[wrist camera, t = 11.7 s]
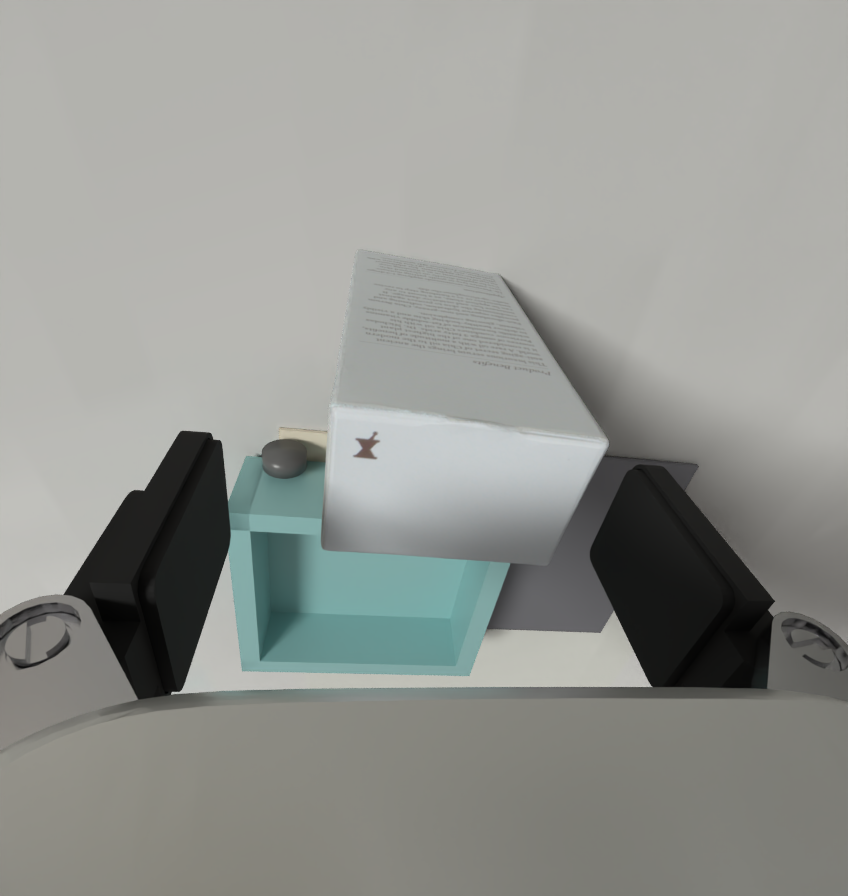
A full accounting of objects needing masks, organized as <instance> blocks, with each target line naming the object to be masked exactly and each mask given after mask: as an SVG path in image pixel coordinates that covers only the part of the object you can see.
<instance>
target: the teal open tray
mask: <svg viewBox="0 0 848 896" xmlns="http://www.w3.org/2000/svg"><path fill="white" fill-rule="evenodd" d="M325 464H326V462H315V461H307V449H306V447H305V446H304V445H303V444H302V443H300V442H298V441H295V440H290V439H280V440H275V441H272V442H270V443H268V444H267V445H265V446H264V448H263V449H262V457H252V456H246V458H245V461H244V463H243V466H242V468H241V471H240V473H239V476H238V478H237V481H236V483H235V486H234V489H233V491H232V494H231V496H230V499H229V501H228V509H229V519H230V529H231V539H230V546H229V550H228V552H229V561H230V570H231V578H232V587H233V596H234V605H235V613H236V622H237V631H238V640H239V648H240V657H241V666H242V671H261V672H307V673H354V674H400V675H447V676H469V675H470V673H471V670H472V667H473V664H474V662H475V659H476V656H477V653H478V651H479V648H480V645H481V642H482V640H483V637H484V634H485V632H486V629H487V626H488V623H489V621H490V618H491V615H492V612H493V610H494V607H495V604H496V602H497V599H498V596H499V593H500V591H501V588H502V585H503V582H504V580H505V577H506V574H507V571H508V569H509V566H510V563H503V562H490V561H474V560H459V559H445V558H432V557H419V556H406V555H391V554H375V553H358V552H338V551H326V550H323V549H322V547H321V526H322V510H323V494H324V479H325Z"/></svg>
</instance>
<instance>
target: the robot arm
mask: <svg viewBox="0 0 848 896" xmlns="http://www.w3.org/2000/svg"><path fill="white" fill-rule="evenodd" d="M230 539H231V529H230V519H229V509H228V499H227V489H226V479H225V469H224V459H223V449H222V443H221V441H220V440H213V437H212V434H211V433H207V432H193V431H181V432H180V433H179V434H178V436H177V437H176V439H175V441H174V442H173V444H172V446H171V447H170V449H169V451H168V452H167V454H166V456H165V457H164V459H163V461H162V462H161V464H160V466H159V467H158V469H157V471H156V472H155V474H154V476H153V477H152V479H151V481H150V482H149V484H148V486H147V487H146V489H145V491H140V490H134V491H132V492H130V493H129V494H128V495H127V497H126V498H125V499H124V501H123V502H122V504H121V506H120V507H119V509H118V510H117V512H116V513H115V515H114V516H113V518H112V520H111V521H110V523H109V524H108V526H107V527H106V529H105V531H104V532H103V534H102V535H101V537H100V538H99V540H98V541H97V543H96V545H95V546H94V548H93V549H92V551H91V552H90V554H89V556H88V557H87V559H86V560H85V562H84V563H83V565H82V566H81V568H80V570H79V571H78V573H77V574H76V576H75V577H74V579H73V581H72V582H71V584H70V585H69V587H68V588H67V590H66V591H65V593H64V595H49V596H42V597H38V598H34V599H31V600H28V601H25V602H22V603H20V604H18V605H16V606H14V607H12V608H10V609H9V610H7V611H5V612H3V613H2V614H1V615H0V896H848V645H847V644H846V643H845V642H844V641H843V640H842V639H841V638H840V637H839V636H838V635H837V634H835V633H834V632H833V631H832V630H830V629H829V628H828V627H826V626H825V625H823V624H821V623H820V622H818V621H816V620H814V619H812V618H810V617H807V616H805V615H802V614H799V613H794V612H780V613H779V614H777V615H775V616H774V617H773V616H772V615H771V614H770V612H769V611H768V609H769V608H770V607H771V605H772V604H773V603H774V602H775V601H774V600H773V598H772V597H771V596H770V595H769V593H768V592H767V591H766V590H765V589H764V587H763V586H762V585H761V584H760V583H759V581H758V580H757V579H756V578H755V576H754V575H753V574H752V573H751V572H750V570H749V569H748V568H747V567H746V566H745V564H744V563H743V562H742V561H741V559H740V558H739V557H738V556H737V555H736V553H735V552H734V551H733V550H732V549H731V547H730V546H729V545H728V544H727V542H726V541H725V540H724V539H723V538H722V536H721V535H720V534H719V533H718V531H717V530H716V529H715V528H714V527H713V525H712V524H711V523H710V522H709V521H708V519H707V518H706V517H705V516H704V514H703V513H702V512H701V511H700V510H699V508H698V507H697V506H696V505H695V504H694V502H693V501H692V500H691V499H690V497H689V496H688V495H687V494H686V493H685V491H684V490H683V489H682V488H681V486H680V485H679V484H678V483H677V482H676V480H675V479H674V478H673V477H672V476H671V474H670V473H669V472H668V471H667V469H665V468H664V467H663V466H658V465H644V464H638V465H636V466H635V467H633V469H632V470H629V471H627V473H626V474H625V476H624V478H623V480H622V482H621V485H620V487H619V489H618V491H617V493H616V495H615V497H614V499H613V501H612V504H611V506H610V508H609V510H608V512H607V514H606V516H605V518H604V521H603V523H602V525H601V527H600V529H599V531H598V533H597V535H596V537H595V540H594V542H593V544H592V546H591V549H590V561H591V563H592V566H593V568H594V570H595V572H596V574H597V576H598V578H599V580H600V582H601V584H602V586H603V588H604V590H605V592H606V594H607V596H608V599H609V601H610V603H611V605H612V607H613V609H614V611H615V613H616V615H617V617H618V619H619V621H620V623H621V625H622V627H623V629H624V632H625V634H626V636H627V638H628V640H629V642H630V644H631V646H632V648H633V650H634V652H635V654H636V656H637V658H638V660H639V662H640V665H641V667H642V669H643V671H644V673H645V675H646V677H647V679H648V681H649V683H650V684H651V686H652V687H466V688H344V689H284V690H245V691H217V692H203V693H188V694H174V695H171V693H172V692H180V691H181V690H182V688H183V686H184V683H185V680H186V677H187V674H188V671H189V668H190V665H191V662H192V659H193V656H194V653H195V650H196V647H197V644H198V641H199V638H200V635H201V632H202V629H203V626H204V623H205V620H206V617H207V614H208V610H209V607H210V604H211V601H212V598H213V595H214V592H215V589H216V586H217V583H218V580H219V577H220V574H221V571H222V568H223V565H224V562H225V559H226V556H227V553H228V550H229V546H230Z"/></svg>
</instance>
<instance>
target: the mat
mask: <svg viewBox="0 0 848 896" xmlns="http://www.w3.org/2000/svg"><path fill="white" fill-rule="evenodd" d="M327 434H328V432H326V431H314V430H303V429H292V428H279V440H280V439H290V440H295V441H298V442H300V443H302V444H303V445H304V446H305V447H306V449H307V461H315V462H326V449H327ZM638 464H644V465H658V466H663V467H664V468H665V469H667V471H668V472H669V473H670V474H671V476H672V477H673V478H674V479H675V480H676V482H677V483H678V484H679V485H680V486H681V488H682V489H683V490H685V489H686V487H687V485H688V484H689V482H690V480H691V478H692V477H693V475H694V473H695V472H696V470H697V468H698V467H699V466H698V465H697V464H689V463H678V462H666V461H655V460H644V459H632V458H621V457H609V456H603V458H602V460H601V462H600V464H599V466H598V467H597V469H596V471H595V473H594V475H593V477H592V479H591V481H590V483H589V485H588V487H587V489H586V491H585V493H584V495H583V497H582V499H581V500H580V502H579V504H578V506H577V508H576V510H575V512H574V514H573V516H572V518H571V520H570V522H569V523H568V525H567V527H566V529H565V531H564V533H563V535H562V537H561V540H560V542H559V544H558V546H557V548H556V550H555V552H554V554H553V556H552V558H551V561H550V563H549V564H548V565H547V566H540V565H531V564H516V563H510V566H509V569H508V571H507V574H506V577H505V580H504V582H503V585H502V588H501V591H500V593H499V596H498V599H497V602H496V604H495V607H494V610H493V612H492V615H491V618H490V621H489V623H488V626H487V629H509V630H537V631H565V632H594V633H601V631H602V629H603V628H604V626H605V624H606V623H607V621H608V619H609V617H610V616H611V614H612V612H613V611H614V609H613V607H612V605H611V603H610V601H609V599H608V596H607V594H606V592H605V590H604V588H603V586H602V584H601V582H600V580H599V578H598V576H597V574H596V572H595V570H594V568H593V566H592V563H591V561H590V549H591V546H592V544H593V542H594V540H595V537H596V535H597V533H598V531H599V529H600V527H601V525H602V523H603V521H604V518H605V516H606V514H607V512H608V510H609V508H610V506H611V504H612V501H613V499H614V497H615V495H616V493H617V491H618V489H619V487H620V485H621V482H622V480H623V478H624V476H625V474H626V473H627V471H629V470H632V469H633V467H635V466H636V465H638Z"/></svg>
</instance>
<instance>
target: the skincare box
mask: <svg viewBox="0 0 848 896" xmlns="http://www.w3.org/2000/svg"><path fill="white" fill-rule="evenodd" d="M608 447H609V440H608V438H607V436H606V435H605V433H604V432H603V430H602V429H601V427H600V426H599V424H598V423H597V422H596V420H595V419H594V417H593V416H592V414H591V412H590V411H589V409H588V408H587V407H586V405H585V404H584V402H583V400H582V399H581V397H580V396H579V395H578V393H577V392H576V390H575V389H574V387H573V386H572V384H571V383H570V381H569V380H568V378H567V377H566V375H565V373H564V372H563V371H562V369H561V368H560V366H559V364H558V363H557V361H556V360H555V358H554V357H553V356H552V354H551V352H550V351H549V349H548V348H547V346H546V345H545V343H544V342H543V340H542V338H541V337H540V335H539V334H538V332H537V331H536V329H535V328H534V326H533V325H532V323H531V322H530V320H529V319H528V317H527V316H526V314H525V313H524V311H523V309H522V308H521V306H520V305H519V303H518V302H517V300H516V299H515V297H514V296H513V294H512V293H511V291H510V290H509V288H508V286H507V285H506V283H505V282H504V281H503V279H502V277H501V276H500V275H499V274H495V273H488V272H483V271H477V270H472V269H466V268H461V267H456V266H450V265H444V264H439V263H433V262H427V261H421V260H416V259H410V258H405V257H399V256H393V255H387V254H382V253H376V252H370V251H365V250H357V251H356V254H355V259H354V265H353V271H352V278H351V285H350V289H349V295H348V301H347V307H346V313H345V319H344V326H343V332H342V338H341V344H340V350H339V357H338V364H337V372H336V377H335V382H334V387H333V391H332V396H331V401H330V405H329V414H328V434H327V449H326V464H325V479H324V494H323V510H322V526H321V547H322V549H323V550H326V551H338V552H358V553H375V554H391V555H406V556H419V557H432V558H445V559H459V560H474V561H490V562H503V563H516V564H531V565H540V566H547V565H548V564H549V563H550V561H551V558H552V556H553V554H554V552H555V550H556V548H557V546H558V544H559V542H560V540H561V537H562V535H563V533H564V531H565V529H566V527H567V525H568V523H569V522H570V520H571V518H572V516H573V514H574V512H575V510H576V508H577V506H578V504H579V502H580V500H581V499H582V497H583V495H584V493H585V491H586V489H587V487H588V485H589V483H590V481H591V479H592V477H593V475H594V473H595V471H596V469H597V467H598V466H599V464H600V462H601V460H602V458H603V456H604V455H605V453H606V451H607V449H608Z"/></svg>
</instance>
